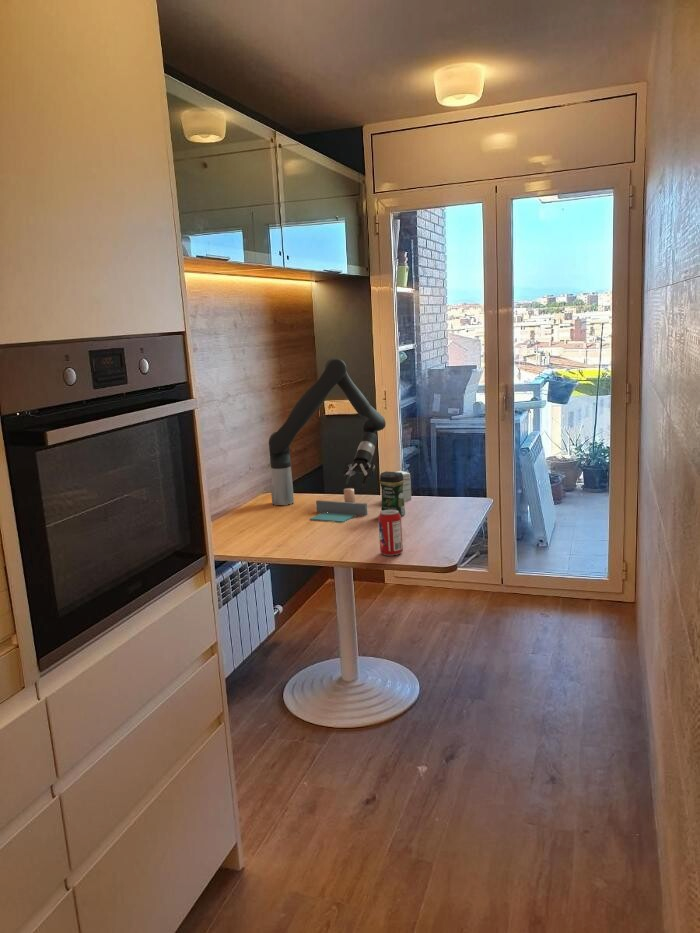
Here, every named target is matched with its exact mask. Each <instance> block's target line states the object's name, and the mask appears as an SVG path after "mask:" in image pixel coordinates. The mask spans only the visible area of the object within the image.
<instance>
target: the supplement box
mask: <svg viewBox="0 0 700 933" xmlns="http://www.w3.org/2000/svg"><path fill="white" fill-rule="evenodd" d="M396 472H400V473H402V474H403V479H404V483H403V498H404V501H405V502H408V501H409V500H410V501H412V486H411V485H412V484H411V483H412V482H411V473H410V472H407V471H403V470H398V471H396Z"/></svg>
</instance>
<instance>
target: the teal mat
mask: <svg viewBox="0 0 700 933" xmlns="http://www.w3.org/2000/svg"><path fill="white" fill-rule="evenodd" d="M355 517H357V515H355V514H341V513H327V512H323V513H319V514H317V515H315V516H312V517H310V518H309V520H310V519H311V520H310V521H316V520H322V521H321V522H328V521H335V522H334V523H341V522H344V523H346V522H348V521H349V520H351V519H353V518H355ZM347 520H348V521H347ZM345 521H346V522H345Z"/></svg>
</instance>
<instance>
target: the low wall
mask: <svg viewBox="0 0 700 933" xmlns="http://www.w3.org/2000/svg"><path fill="white" fill-rule="evenodd" d="M315 504H316V507H315V508H316V513H320V512H328V513H341V514H355V515H356V516H361V515H363V516H365V517H367V516H368V503H367V502H366V503H365V502H355V503H353V502H345V501H337V500H336V501H335V500H319V499H317V500H316V502H315ZM363 516H362V517H363Z"/></svg>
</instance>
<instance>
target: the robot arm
mask: <svg viewBox="0 0 700 933" xmlns="http://www.w3.org/2000/svg"><path fill="white" fill-rule="evenodd" d="M336 385H337V386H338V387H339V388H340V389H341V391H342V393H344V395H345V397H346V398H347V400H348V402H349V403H350V404H351V406H352V408H353V409H354V410H355V412H356V413H357V414H358V416H359V417H361V418H367V419H366V420H365V421H364V423H363V426H362V436H361V440H360V443H359V445H358V447H357V450H356V452H355V455H354V459H353V462H352V463H350V462H348V461H347V462H346V463H345V465H344V467H343V471H342V474H343V476H344V479H343V482H344V483H345V485H348V484H349V482H350V479H351V477H352V476H354V475H356V474H364V475H363V477H362V479H361V485H362V486H366V484H367V482H368V479H369V478H371V479H372V478H374V474H375V470H376V465H375V464H374V463H373V462H372V460H373V457H374V454H375V449H376V446H377V442H378V439H379V438H378V436H377V434H376V433H377V432H380V431H382V430H384V429H385V428H386V420H385V417H384V416H383V415H382V414H381V412H379V411H377V409H375V408H374V407H373V406H372V405H371V404H370V402H369V400H368V399H367V398H366V396H365V395H364V394H363V393H362V391H361V390H360V389H359V388H358V387H357V385H356V384H355V383H354V381H353V380H352V379H351V377H350V375H349V374H348V371H347V365H346V363H345V361H344V360H342V359H340V358H338V357H334V358H333V357H332V358H330V359H328V360H326V363H325V365H324V371H323V372H322V374H321V376H320V377H319V378H318V379H317V381H316V382H315V383H314V384H312V386H310V387H309V388H308V389H307V390H306V391H305V392H304V393H303V394H302V396H301V397H300V398H299V400H297V402H296V403H295V405H294V406H293V408H292V409H291V411H290V413H289V415H288V417H287V418H286V419H285V420H286V421H285V422H283V424H282V426H280V428H278V430H277V431H275V432H273V433H271V435H270V436H269V438H268V448H269V450H268V451H269V461H270V471H271V472H270V473H271V474H270V475H271V484H270V492H271V494H270V495H271V505H272V506H274V505H275V506H277V505H284V506H289V505H288V504H290V505H293V504H294V503H295V498H294V487H293V475H292V474H293V473H292V460H291V449H290V445H291V443H292V441H293V440H294V439H295V437H296V436H297V434H298V433H299V432H300V430H302V428H304V427H305V425H306V424H307V423H308V422H309V421H310V420H311V418H312V417H313V416H314V415H315V413H316V412H317V411H318V410H319V408H320V407H321V406H322V404H323V402H324V401H325V399H326V398H327V396H328V394H329V393H330V392H331V390H332V389H333V388H334V387H335V386H336ZM371 462H372V463H371ZM368 469H369V471H368ZM292 503H293V504H292ZM273 504H274V505H273Z"/></svg>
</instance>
